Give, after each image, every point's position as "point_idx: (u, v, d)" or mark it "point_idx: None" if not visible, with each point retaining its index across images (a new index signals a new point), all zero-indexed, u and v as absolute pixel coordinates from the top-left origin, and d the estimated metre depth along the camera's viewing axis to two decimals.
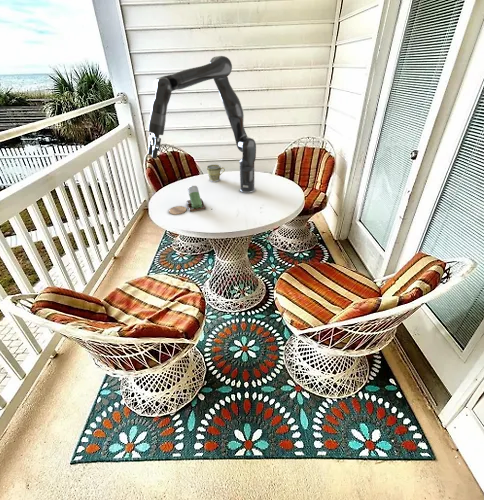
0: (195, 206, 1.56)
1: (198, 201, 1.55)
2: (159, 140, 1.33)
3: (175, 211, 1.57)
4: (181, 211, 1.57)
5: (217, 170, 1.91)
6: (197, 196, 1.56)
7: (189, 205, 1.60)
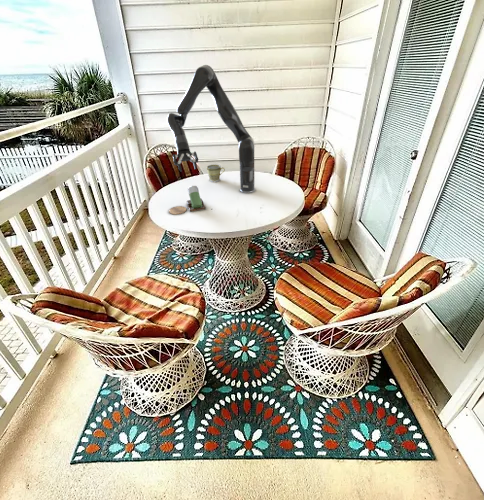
0: (195, 206, 1.56)
1: (198, 201, 1.55)
2: (173, 156, 1.59)
3: (175, 211, 1.57)
4: (181, 211, 1.57)
5: (217, 170, 1.91)
6: (197, 196, 1.56)
7: (189, 205, 1.60)
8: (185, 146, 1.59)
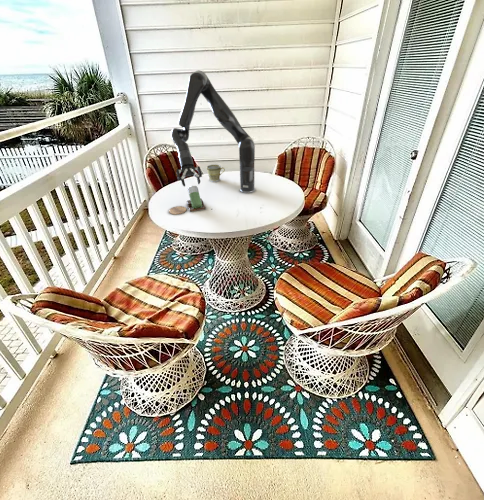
0: (195, 206, 1.56)
1: (198, 201, 1.55)
2: None
3: (175, 211, 1.57)
4: (181, 211, 1.57)
5: (217, 170, 1.91)
6: (197, 196, 1.56)
7: (189, 205, 1.60)
8: (189, 161, 1.58)
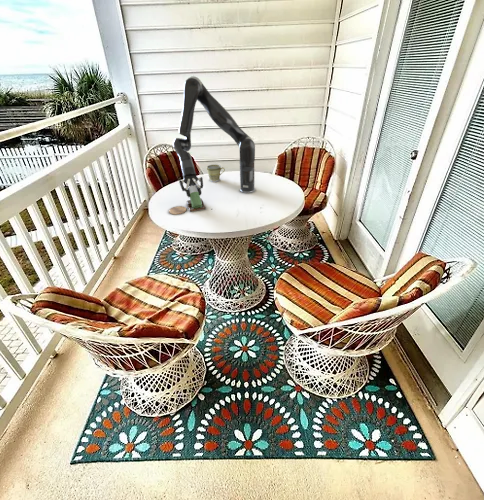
0: (195, 206, 1.56)
1: (198, 201, 1.55)
2: (179, 182, 1.58)
3: (175, 211, 1.57)
4: (181, 211, 1.57)
5: (217, 170, 1.91)
6: (197, 196, 1.56)
7: (189, 205, 1.60)
8: (191, 171, 1.57)
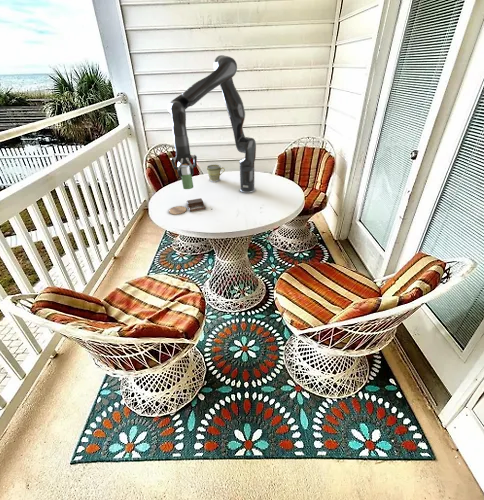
0: None
1: (190, 185, 1.53)
2: (171, 160, 1.45)
3: (175, 211, 1.57)
4: (181, 211, 1.57)
5: (217, 170, 1.91)
6: (189, 179, 1.52)
7: (189, 205, 1.60)
8: (185, 152, 1.42)
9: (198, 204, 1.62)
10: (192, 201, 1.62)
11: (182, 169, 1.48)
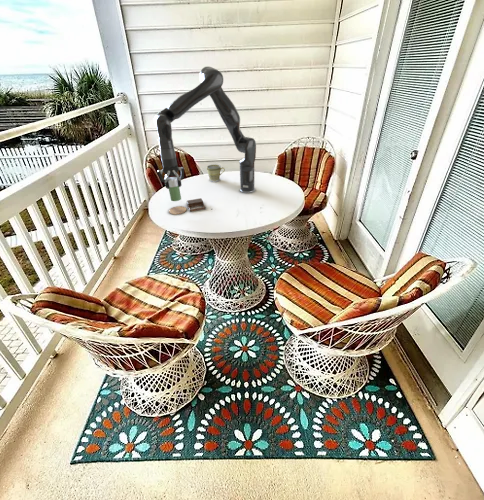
0: None
1: (177, 197, 1.52)
2: (158, 173, 1.44)
3: (175, 211, 1.57)
4: (181, 211, 1.57)
5: (217, 170, 1.91)
6: (177, 191, 1.50)
7: (189, 205, 1.60)
8: (172, 164, 1.41)
9: (198, 204, 1.62)
10: (192, 201, 1.62)
11: (169, 181, 1.47)
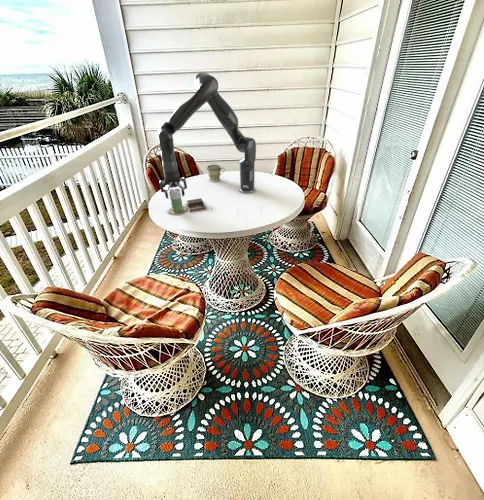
0: None
1: (179, 208, 1.56)
2: (160, 183, 1.47)
3: None
4: (181, 211, 1.57)
5: (217, 170, 1.91)
6: (179, 203, 1.54)
7: (189, 205, 1.60)
8: (174, 176, 1.45)
9: (198, 204, 1.62)
10: (192, 201, 1.62)
11: (172, 194, 1.50)
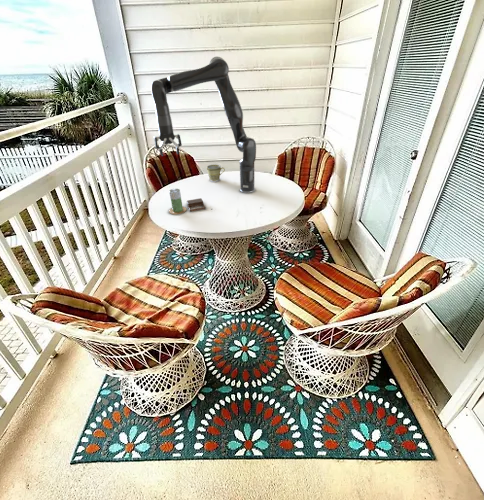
0: None
1: (179, 208, 1.56)
2: (154, 139, 1.47)
3: None
4: (181, 211, 1.57)
5: (217, 170, 1.91)
6: (179, 203, 1.54)
7: (189, 205, 1.60)
8: (168, 131, 1.45)
9: (198, 204, 1.62)
10: (192, 201, 1.62)
11: (172, 194, 1.50)
